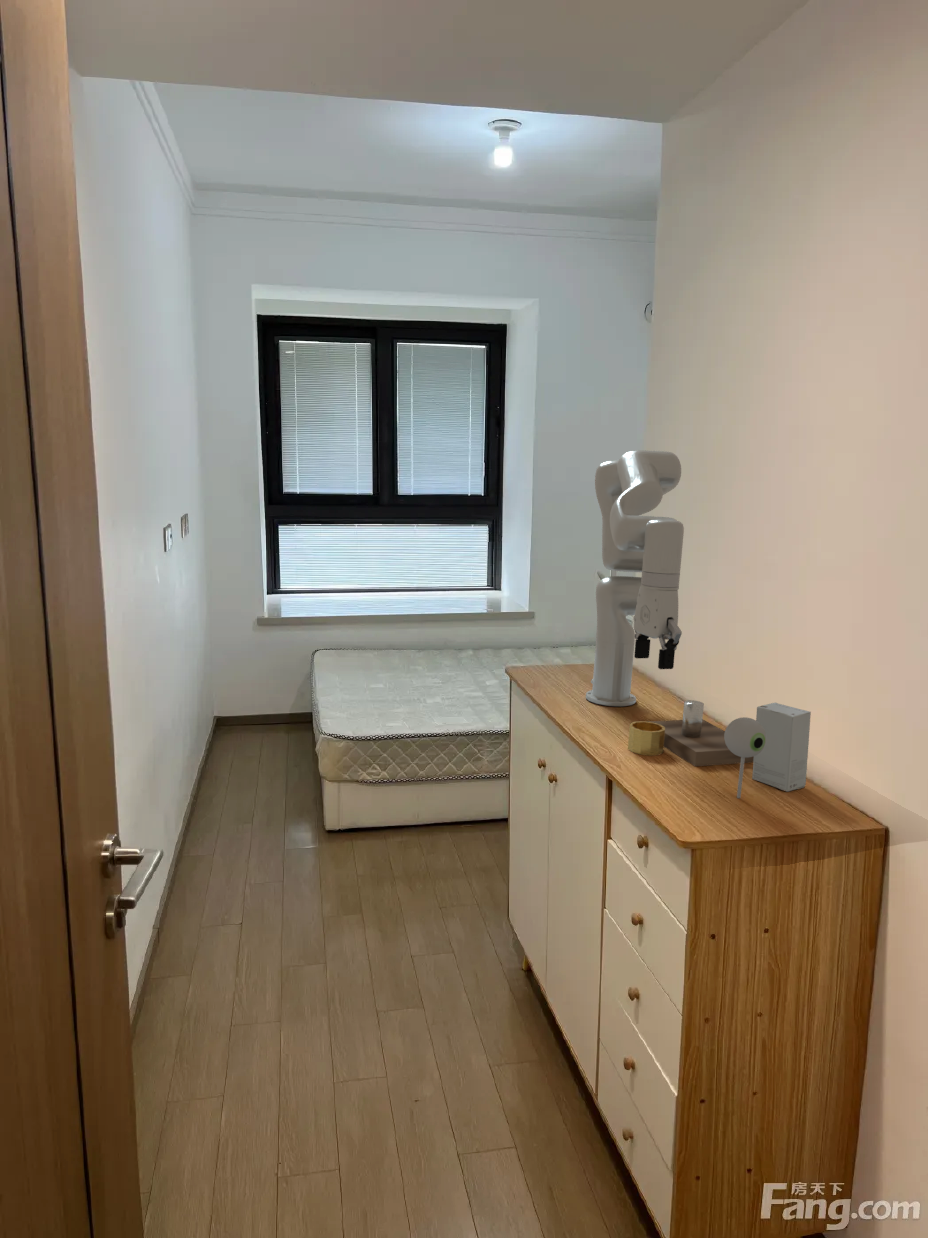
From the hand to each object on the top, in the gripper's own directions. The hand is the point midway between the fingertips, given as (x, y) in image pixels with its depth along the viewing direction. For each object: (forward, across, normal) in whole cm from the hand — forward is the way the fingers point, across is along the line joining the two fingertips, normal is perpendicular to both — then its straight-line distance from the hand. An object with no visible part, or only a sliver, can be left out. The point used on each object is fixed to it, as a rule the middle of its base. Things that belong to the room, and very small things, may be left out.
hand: (653, 663), depth 173 cm
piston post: (+16, +1, +10) cm, 19 cm away
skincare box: (+19, +22, +16) cm, 33 cm away
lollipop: (+19, +27, +4) cm, 33 cm away
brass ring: (+19, 0, 0) cm, 19 cm away
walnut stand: (+19, +1, +12) cm, 22 cm away
